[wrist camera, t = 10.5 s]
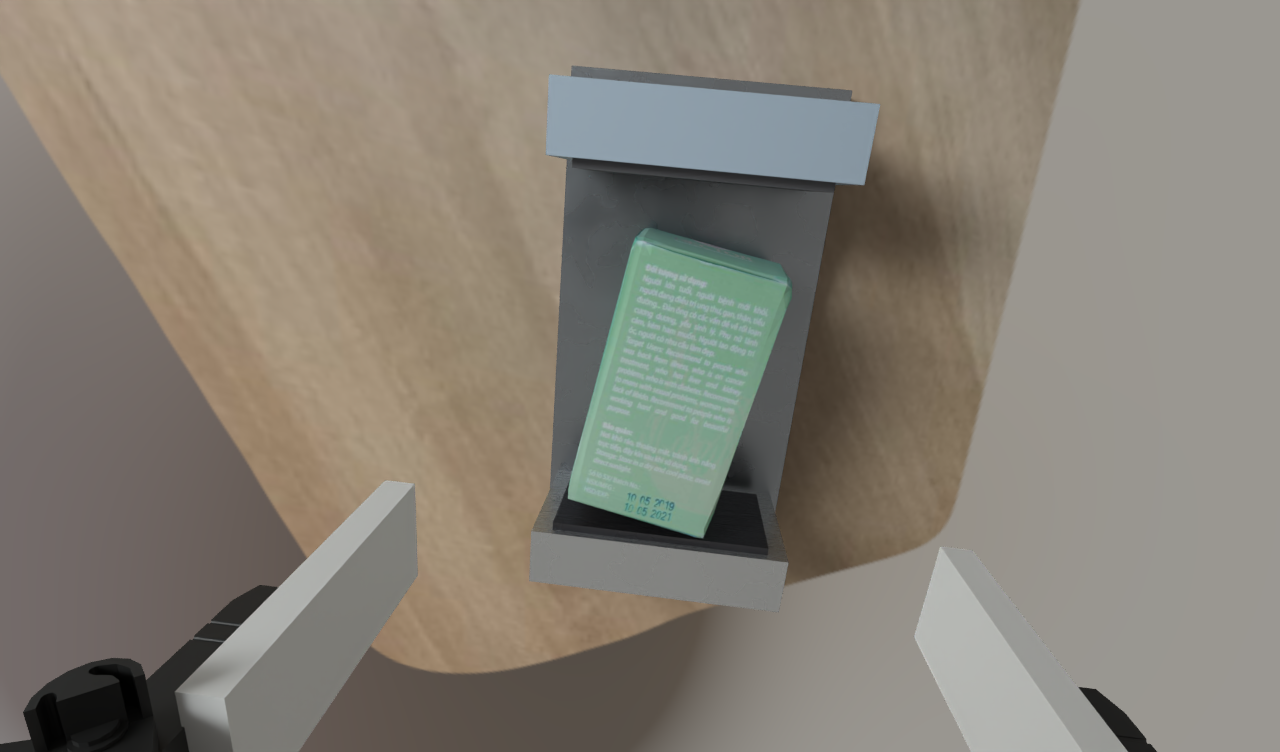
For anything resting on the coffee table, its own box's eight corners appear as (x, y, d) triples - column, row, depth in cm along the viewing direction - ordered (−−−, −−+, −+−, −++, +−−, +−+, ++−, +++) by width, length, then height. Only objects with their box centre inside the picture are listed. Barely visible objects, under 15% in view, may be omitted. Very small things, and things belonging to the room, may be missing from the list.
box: (777, 258, 32) (800, 279, 25) (703, 474, 37) (706, 544, 30) (645, 221, 32) (632, 231, 25) (587, 442, 37) (562, 504, 29)
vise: (576, 71, 32) (539, 32, 24) (844, 95, 31) (900, 63, 23) (553, 505, 40) (519, 587, 32) (766, 531, 39) (786, 621, 31)
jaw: (579, 98, 31) (549, 74, 24) (837, 121, 30) (880, 104, 23) (575, 169, 32) (545, 165, 25) (824, 193, 31) (862, 195, 24)
